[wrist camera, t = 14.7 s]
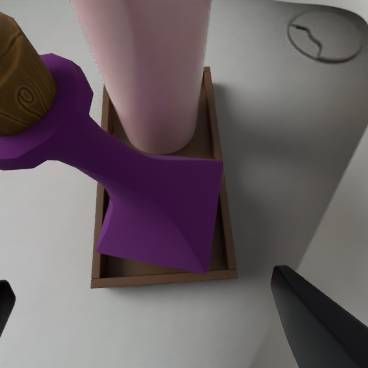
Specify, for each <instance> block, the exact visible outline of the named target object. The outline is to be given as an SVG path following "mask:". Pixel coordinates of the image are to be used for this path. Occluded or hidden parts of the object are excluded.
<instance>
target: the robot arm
mask: <svg viewBox="0 0 368 368" xmlns="http://www.w3.org/2000/svg"><path fill="white" fill-rule="evenodd" d="M271 290H272V293H273V296H274V300H275V303H276V306H277V309H278V313H279V316H280V319H281V322H282V325H283V328H284V332H285V335H286V337H287V340H288V343H289V345H290V347H291V350H292V352H293V355H294V357H295V359H296V362H297V364H298V367H299V368H368V327H367V326H366V325H364V324H363V323H362V322H360V321H359V320H358V319H356V318H355V317H354V316H353V315H351V314H350V313H349V312H347V311H346V310H345V309H343V308H342V307H341V306H339V305H338V304H337V303H336V302H334V301H333V300H332V299H330V298H329V297H328V296H326V295H325V294H324V293H323V292H321V291H320V290H319V289H317V288H316V287H315V286H313V285H312V284H310V283H309V282H308V281H307V280H305V279H304V278H303V277H302V276H300V275H299V274H298V273H296V272H295V271H294V270H292V269H291V268H290V267H288V266H286V265H279V266H275V267H274V269H273V273H272V278H271ZM15 301H16V297H15V294H14V292H13V290H12V288H11V286H10V284H9V282H8V281H7V280H0V337H1V334H2V332H3V330H4V328H5V325H6V323H7V321H8V318H9V316H10V314H11V312H12V309H13V307H14V305H15Z"/></svg>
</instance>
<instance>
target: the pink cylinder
mask: <svg viewBox="0 0 368 368" xmlns="http://www.w3.org/2000/svg"><path fill="white" fill-rule="evenodd" d="M69 2H70V4H71V7H72V9H73V11H74V14H75V16H76V18H77V21H78V23H79V25H80V28H81V30H82V33H83V35H84V37H85V40H86V42H87V44H88V47H89V49H90V52H91V54H92V56H93V59H94V61H95V63H96V66H97V68H98V70H99V73H100V75H101V78H102V80H103V82H104V85H105V87H106V89H107V92H108V94H109V96H110V99H111V101H112V104H113V106H114V108H115V111H116V113H117V115H118V118H119V120H120V122H121V125H122V127H123V130H124V132H125V134H126V136H127V138H128V140H129V141H130V142H131V143H132V144H133V145H134V146H135V147H136V148H138V149H139V150H141V151H143V152H146V153H149V154H155V155H164V154H170V153H173V152H176V151H178V150H180V149H182V148H183V147H184V146H186V145H187V144H188V143H189V142H190V141H191V139H192V138H193V136H194V134H195V132H196V128H197V120H198V112H199V103H200V95H201V87H202V78H203V70H204V61H205V53H206V45H207V36H208V28H209V19H210V11H211V2H212V0H69Z"/></svg>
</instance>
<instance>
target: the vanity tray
mask: <svg viewBox="0 0 368 368" xmlns="http://www.w3.org/2000/svg"><path fill="white" fill-rule="evenodd" d="M101 128H102V129H103V130H104V131H106V132H108V133H109V134H111V135H112V136H114V137H115V138H117V139H118V140H120V141H121V142H123V143H124V144H126V145H127V146H129V147H131V148H133V149H135V150H137V151H139V152H140V153H143V154H149V153H146V152H143V151H141V150H139V149H138V148H136V147H135V146H134V145H133V144H132V143H131V142H130V141H129V140H128V138H127V136H126V134H125V132H124V130H123V127H122V125H121V122H120V120H119V118H118V115H117V113H116V111H115V108H114V106H113V104H112V101H111V99H110V96H109V94H108V92H107V89H106V87H105V85H104V89H103V105H102V120H101ZM152 155H155V154H152ZM164 156H177V157H189V158H202V159H215V160H220V161H222V155H221V148H220V140H219V132H218V125H217V117H216V110H215V102H214V95H213V87H212V80H211V72H210V67H204V70H203V78H202V87H201V95H200V103H199V112H198V120H197V128H196V132H195V134H194V136H193V138H192V139H191V141H190V142H189V143H188V144H187V145H186V146H184V147H183V148H182V149H180V150H178V151H176V152H173V153H170V154H164ZM109 201H110V197H109V194H108V192H107V190H106V189H105V188H104V187H103V186H102V185H101V184H100V183H99V182H98V183H97V198H96V214H95V229H94V245H93V261H92V276H91V278H92V279H91V289H92V288H106V287H119V286H133V285H147V284H161V283H175V282H189V281H203V280H217V279H231V278H238V276H237V269H236V261H235V253H234V246H233V238H232V231H231V223H230V215H229V208H228V200H227V193H226V185H225V178H224V170H223V169H222V176H221V184H220V191H219V198H218V205H217V212H216V219H215V226H214V233H213V240H212V247H211V254H210V261H209V268H208V271H207V273H206V274H200V273H195V272H190V271H185V270H180V269H175V268H170V267H165V266H160V265H155V264H151V263H146V262H141V261H136V260H131V259H126V258H121V257H116V256H111V255H106V254H101V253H98V252H97V251H96V245H97V242H98V238H99V235H100V232H101V229H102V226H103V222H104V219H105V216H106V213H107V210H108V206H109Z"/></svg>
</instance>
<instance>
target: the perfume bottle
mask: <svg viewBox="0 0 368 368" xmlns="http://www.w3.org/2000/svg"><path fill="white" fill-rule="evenodd" d="M93 94H94V93H93V91H92V89H91V87H90V85H89V83H88V81H87V79H86V77H85V75H84V73H83V71H82V69H81V68H80V67H79V66H78V65H76V64H75V63H74V62H73V61H70V60H68V59H65V58H63V57H60V56H58V55H55V54H52V53H50V54H45V55H39V54H38V53H37V52H36V50H35V49H34V47H33V46H32V44H31V43H30V41H29V40H28V39H27V37H26V36H25V34H24V33H23V31H22V30H21V28H20V27H19V25H18V24H17V23H16V21H15V20H14V18H12V17H10V16H8V15H6V14H3V13H1V12H0V170H18V169H31V168H35V167H37V166H38V165H40V164H42V163H43V162H45V161H47V160H57V161H61V162H63V163H65V164H68V165H70V166H73V167H75V168H77V169H79V170H80V171H82V172H83V173H85V174H87V175H88V176H90V177H91V178H93V179H94V180H96V181H98V182H99V183H100V184H101V185H102V186H103V187H104V188H105V189H106V190H107V192H108V194H109V197H110V201H109V206H108V210H107V213H106V216H105V219H104V222H103V226H102V229H101V232H100V235H99V238H98V242H97V245H96V251H97V252H98V253H101V254H106V255H111V256H116V257H121V258H126V259H131V260H136V261H141V262H146V263H151V264H155V265H160V266H165V267H170V268H175V269H180V270H185V271H190V272H195V273H200V274H206V273H207V271H208V268H209V261H210V254H211V247H212V240H213V233H214V226H215V219H216V212H217V205H218V198H219V191H220V184H221V176H222V169H223V162H222V161H220V160H215V159H202V158H189V157H177V156H164V155H152V154H143V153H140V152H139V151H137V150H135V149H133V148H131V147H129V146H127V145H126V144H124V143H123V142H121V141H120V140H118V139H117V138H115V137H114V136H112V135H111V134H109V133H108V132H106V131H104V130H103V129H102V128H101V127H100V126H99V125H98V124H97V123H96V122H95V121H94V120H93V119H92V118H91V117H90V115H89V112H90V107H91V103H92V98H93Z"/></svg>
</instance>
